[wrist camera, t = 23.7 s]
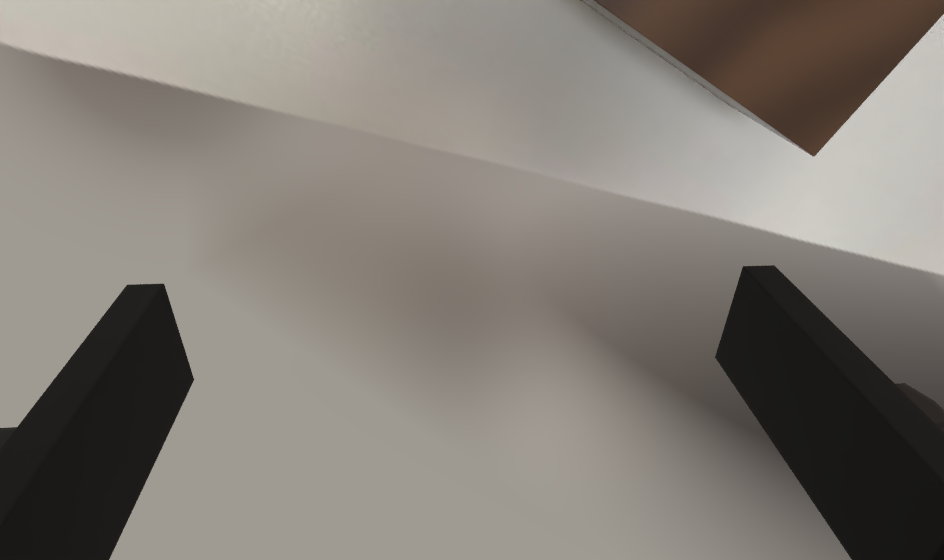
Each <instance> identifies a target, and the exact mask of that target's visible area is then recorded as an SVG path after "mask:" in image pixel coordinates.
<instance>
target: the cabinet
mask: <svg viewBox="0 0 944 560" xmlns="http://www.w3.org/2000/svg"><path fill="white" fill-rule="evenodd" d="M581 1H582V2H584V3H585V4H586V5H588V6H589V7H591V8H592V9H594V10H595V11H596V12H598V13H599V14H601V15H602V16H603V17H605V18H606V19H608V20H609V21H611V22H612V23H613V24H615V25H616V26H618V27H619V28H621V29H622V30H623V31H625V32H626V33H628V34H629V35H631V36H632V37H633V38H635V39H636V40H638V41H639V42H640V43H642V44H643V45H645V46H646V47H648V48H649V49H650V50H652V51H653V52H655V53H656V54H658V55H659V56H660V57H662V58H663V59H665V60H666V61H667V62H669V63H670V64H672V65H673V66H675V67H676V68H677V69H679V70H680V71H682V72H683V73H685V74H686V75H687V76H689V77H690V78H692V79H693V80H694V81H696V82H697V83H699V84H700V85H702V86H703V87H704V88H706V89H707V90H709V91H710V92H712V93H713V94H714V95H716V96H717V97H719V98H720V99H722V100H723V101H724V102H726V103H727V104H729V105H730V106H732V107H733V108H735V109H737V110H738V111H740V112H741V113H743V114H745V115H746V116H748V117H750V118H751V119H753V120H754V121H756V122H758V123H759V124H761V125H763V126H764V127H766V128H768V129H769V130H771V131H772V132H774V133H776V134H777V135H779V136H781V137H782V138H784V139H786V140H787V141H789V142H790V143H792V144H794V145H795V146H797V147H799V148H800V149H802V150H804V151H805V152H807V153H808V154H810V155H812V156H815V155H816V154H817V153H818V152H819V151H820V150H821V148H822V147H823V146H824V145H825V144H826V143H827V142H828V141H829V140H830V139H831V137H832V136H833V135H834V134H835V133H836V132H837V131H838V130H839V129H840V128H841V126H842V125H843V124H844V123H845V122H846V121H847V120H848V119H849V118H850V116H851V115H852V114H853V113H854V112H855V111H856V110H857V109H858V108H859V107H860V105H861V104H862V103H863V102H864V101H865V100H866V99H867V98H868V97H869V96H870V94H871V93H872V92H873V91H874V90H875V89H876V88H877V87H878V86H879V84H880V83H881V82H882V81H883V80H884V79H885V78H886V77H887V76H888V75H889V73H890V72H891V71H892V70H893V69H894V68H895V67H896V66H897V65H898V64H899V62H900V61H901V60H902V59H903V58H904V57H905V56H906V55H907V54H908V53H909V51H910V50H911V49H912V48H913V47H914V46H915V45H916V44H917V43H918V41H919V40H920V39H921V38H922V37H923V36H924V35H925V34H926V33H927V32H928V30H929V29H930V28H931V27H932V26H933V25H934V24H935V23H936V22H937V21H938V19H939V18H940V17H941V16H942V15H943V14H944V0H581Z"/></svg>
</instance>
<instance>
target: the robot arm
mask: <svg viewBox="0 0 944 560" xmlns="http://www.w3.org/2000/svg"><path fill="white" fill-rule="evenodd" d="M715 358H716V359H717V361H718V362H719V363H720V365H721V367H722V368H723V370H724V371H725V372H726V374H727V376H728V377H729V379H730V380H731V382H732V383H733V384H734V386H735V387H736V389H737V390H738V392H739V393H740V395H741V396H742V398H743V399H744V400H745V402H746V404H747V405H748V407H749V408H750V410H751V411H752V413H753V414H754V416H755V417H756V418H757V420H758V421H759V423H760V424H761V426H762V427H763V429H764V430H765V432H766V433H767V435H768V436H769V438H770V439H771V440H772V442H773V443H774V445H775V447H776V448H777V450H778V451H779V452H780V454H781V455H782V457H783V458H784V460H785V461H786V463H787V464H788V466H789V467H790V469H791V470H792V472H793V473H794V475H795V476H796V478H797V479H798V480H799V482H800V483H801V485H802V486H803V488H804V489H805V491H806V492H807V494H808V495H809V497H810V498H811V500H812V501H813V503H814V504H815V506H816V507H817V509H818V510H819V512H820V513H821V515H822V516H823V517H824V519H825V520H826V522H827V523H828V525H829V526H830V528H831V529H832V531H833V532H834V534H835V535H836V537H837V538H838V540H839V541H840V543H841V544H842V546H843V547H844V549H845V550H846V551H847V553H848V554H849V556H850V557H851V559H852V560H944V410H943V409H942V408H941V407H940V406H939V405H938V404H937V403H936V402H935V401H933V400H932V399H930V398H928V397H927V396H925V395H923V394H922V393H920V392H918V391H917V390H915V389H914V388H912V387H910V386H908V385H907V384H905V383H902V384H894V383H893V382H892V381H891V380H890V379H889V378H888V377H887V376H886V375H885V374H884V373H883V372H882V371H881V370H880V369H879V368H878V367H877V366H876V365H875V364H874V363H873V362H872V361H871V360H870V359H869V358H868V357H867V356H866V355H865V354H864V353H863V352H862V351H861V350H860V349H859V348H858V347H857V346H855V344H854V343H853V342H852V341H851V340H850V339H849V338H848V337H847V336H846V335H844V334H843V333H842V332H841V331H840V330H839V329H838V328H837V327H836V326H835V325H834V324H833V323H832V322H831V321H830V320H829V319H828V318H827V317H826V316H825V315H824V314H823V313H822V312H821V311H820V310H819V309H818V308H817V307H816V306H815V305H814V304H813V303H812V302H811V301H810V300H809V299H808V298H807V297H806V296H805V295H804V294H803V293H802V292H801V291H800V290H799V289H798V288H797V287H796V286H794V284H792V283H791V282H790V281H789V280H788V279H787V278H786V277H785V276H784V275H783V274H782V273H781V272H780V271H779V270H778V269H777V268H776V267H775V266H744V267H743V268H742V272H741V275H740V278H739V281H738V285H737V288H736V291H735V294H734V298H733V301H732V304H731V307H730V311H729V314H728V317H727V321H726V324H725V327H724V330H723V334H722V337H721V340H720V344H719V347H718V350H717V353H716V356H715ZM193 381H194V378H193V375H192V372H191V369H190V365H189V362H188V359H187V356H186V353H185V349H184V346H183V343H182V340H181V337H180V333H179V330H178V327H177V324H176V321H175V317H174V314H173V312H172V308H171V305H170V302H169V298H168V295H167V292H166V289H165V286H164V284H143V285H141V284H140V285H127V286H126V287H125V288H124V290H123V291H122V292H121V294H120V295H119V296H118V297H117V299H116V300H115V301H114V303H113V304H112V305H111V307H110V308H109V309H108V311H107V312H106V313H105V314H104V316H103V317H102V318H101V320H100V321H99V322H98V323H97V325H96V326H95V328H94V329H93V330H92V331H91V332H90V334H89V335H88V336H87V338H86V339H85V340H84V342H83V343H82V344H81V345H80V347H79V348H78V349H77V351H76V352H75V353H74V354H73V356H72V357H71V358H70V360H69V361H68V363H67V364H66V365H65V366H64V367H63V369H62V370H61V372H60V373H59V374H58V375H57V377H56V378H55V379H54V380H53V382H52V383H51V384H50V386H49V387H48V388H47V390H46V391H45V392H44V393H43V395H42V396H41V397H40V399H39V400H38V401H37V402H36V404H35V405H34V406H33V408H32V409H31V410H30V412H29V413H28V414H27V416H26V417H25V418H24V419H23V421H22V422H21V423H20V425H19V426H18V427H16V428H15V427H14V428H0V560H109V559H110V556H111V554H112V552H113V550H114V548H115V546H116V544H117V542H118V540H119V537H120V535H121V533H122V531H123V529H124V527H125V525H126V523H127V521H128V518H129V516H130V514H131V512H132V510H133V508H134V506H135V504H136V501H137V499H138V497H139V495H140V492H141V491H142V489H143V486H144V485H145V482H146V480H147V478H148V476H149V474H150V472H151V469H152V467H153V465H154V463H155V461H156V459H157V457H158V455H159V453H160V451H161V449H162V446H163V444H164V442H165V440H166V438H167V436H168V433H169V431H170V429H171V427H172V425H173V423H174V421H175V419H176V417H177V415H178V412H179V410H180V408H181V406H182V404H183V402H184V400H185V398H186V396H187V393H188V391H189V389H190V387H191V385H192V383H193Z"/></svg>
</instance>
